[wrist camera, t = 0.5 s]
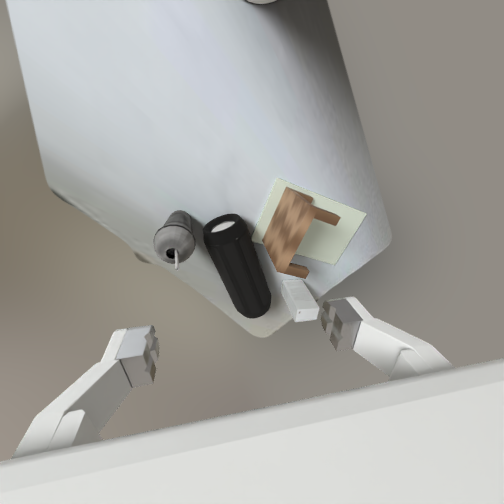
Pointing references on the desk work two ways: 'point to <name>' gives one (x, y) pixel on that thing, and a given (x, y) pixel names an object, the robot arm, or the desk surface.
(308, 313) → the skincare box
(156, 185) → the desk surface
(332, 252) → the mat
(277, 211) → the stool
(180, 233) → the beverage cup
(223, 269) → the portable speaker
